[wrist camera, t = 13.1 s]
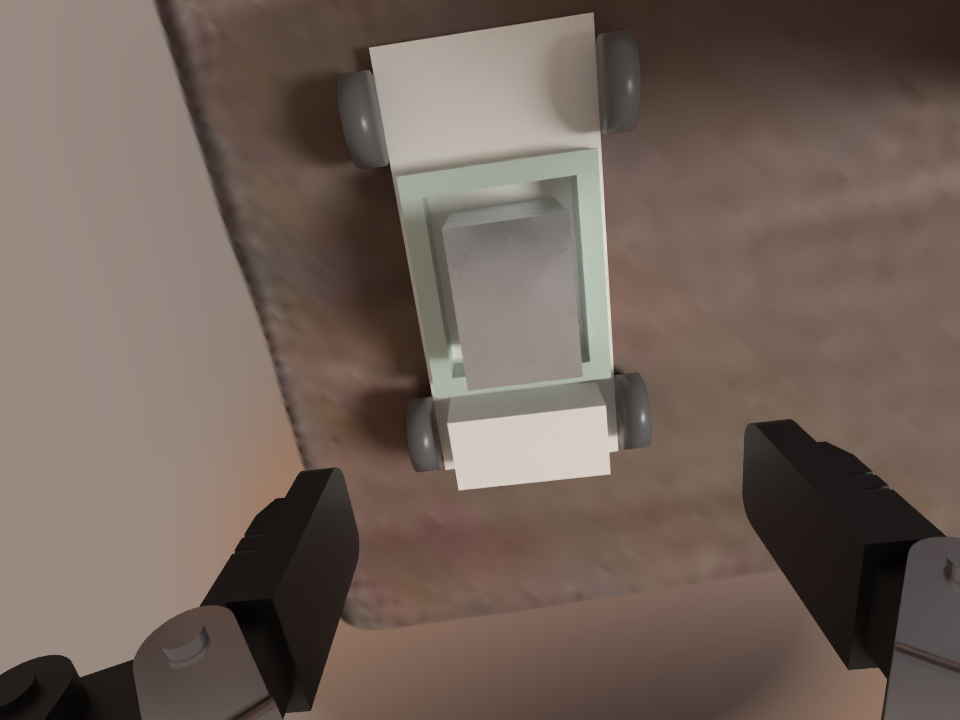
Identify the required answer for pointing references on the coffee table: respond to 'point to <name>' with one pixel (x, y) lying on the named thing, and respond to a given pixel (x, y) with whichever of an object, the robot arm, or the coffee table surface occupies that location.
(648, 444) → the chassis
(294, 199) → the coffee table surface
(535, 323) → the block
